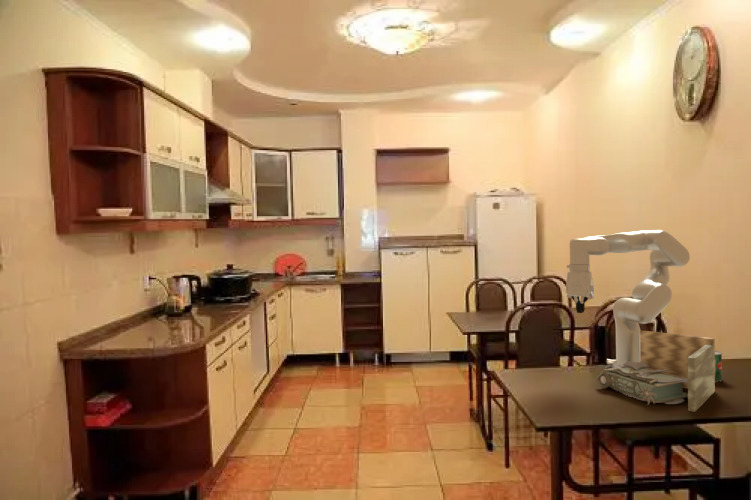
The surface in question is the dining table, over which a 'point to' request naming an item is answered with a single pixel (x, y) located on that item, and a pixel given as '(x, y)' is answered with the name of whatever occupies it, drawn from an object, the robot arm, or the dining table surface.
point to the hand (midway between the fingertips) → (580, 312)
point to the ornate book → (644, 383)
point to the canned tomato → (718, 366)
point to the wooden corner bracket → (682, 361)
